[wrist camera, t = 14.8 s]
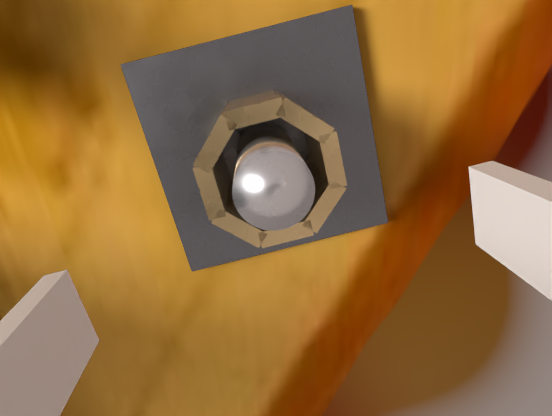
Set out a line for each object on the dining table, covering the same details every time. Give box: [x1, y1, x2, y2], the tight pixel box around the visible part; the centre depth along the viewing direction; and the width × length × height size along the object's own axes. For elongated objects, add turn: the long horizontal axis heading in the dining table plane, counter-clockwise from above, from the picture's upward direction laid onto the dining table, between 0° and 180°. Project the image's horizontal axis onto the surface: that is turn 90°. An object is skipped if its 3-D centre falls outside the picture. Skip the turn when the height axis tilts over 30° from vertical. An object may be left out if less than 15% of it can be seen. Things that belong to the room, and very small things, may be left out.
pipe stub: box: [121, 5, 388, 271], centre depth 26 cm, size 16×16×12 cm
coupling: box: [192, 90, 347, 248], centre depth 27 cm, size 8×8×8 cm
